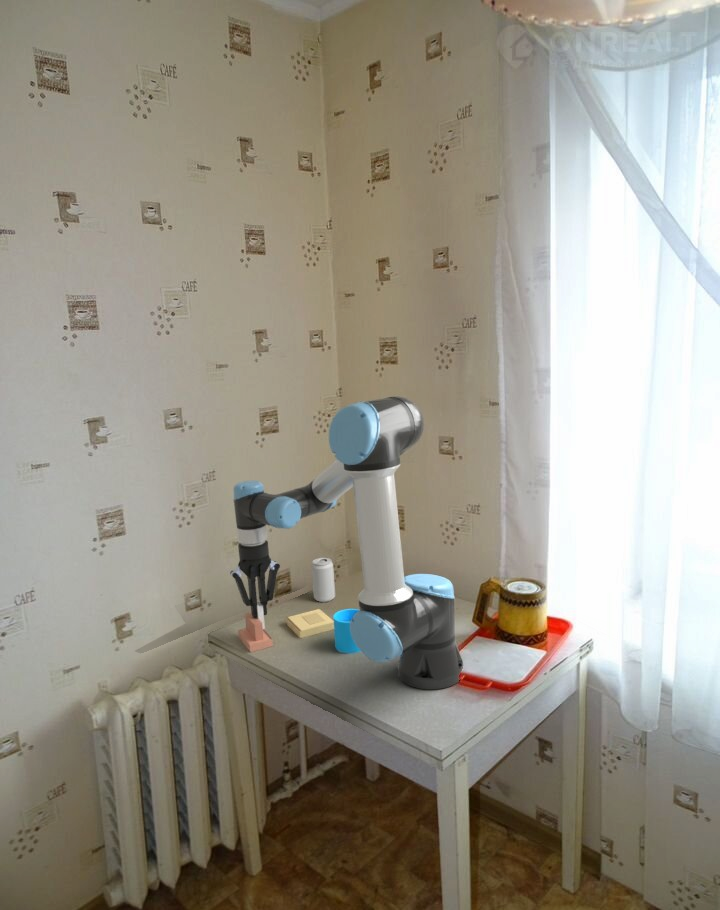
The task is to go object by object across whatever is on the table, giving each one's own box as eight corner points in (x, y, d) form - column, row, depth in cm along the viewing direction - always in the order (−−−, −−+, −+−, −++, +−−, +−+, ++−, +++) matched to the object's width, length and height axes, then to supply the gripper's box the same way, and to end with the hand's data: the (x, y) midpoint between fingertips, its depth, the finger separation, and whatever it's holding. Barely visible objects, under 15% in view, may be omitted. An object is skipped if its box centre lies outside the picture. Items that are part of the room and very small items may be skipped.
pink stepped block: (272, 645, 173) (270, 622, 172) (250, 652, 170) (248, 628, 169) (260, 631, 182) (258, 608, 181) (238, 636, 179) (236, 614, 178)
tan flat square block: (334, 628, 181) (334, 621, 180) (300, 638, 176) (299, 630, 176) (319, 615, 190) (319, 608, 189) (286, 624, 185) (286, 617, 185)
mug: (370, 650, 168) (368, 620, 166) (338, 655, 166) (336, 624, 165) (360, 630, 180) (359, 601, 178) (330, 634, 178) (328, 605, 176)
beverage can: (339, 596, 202) (337, 558, 200) (327, 604, 197) (324, 565, 194) (322, 593, 205) (319, 555, 203) (309, 600, 200) (306, 562, 198)
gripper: (272, 533, 178) (278, 616, 182) (223, 542, 172) (232, 628, 177) (282, 540, 171) (289, 626, 176) (232, 550, 166) (240, 639, 170)
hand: (260, 627), depth 176 cm, fingers closed
